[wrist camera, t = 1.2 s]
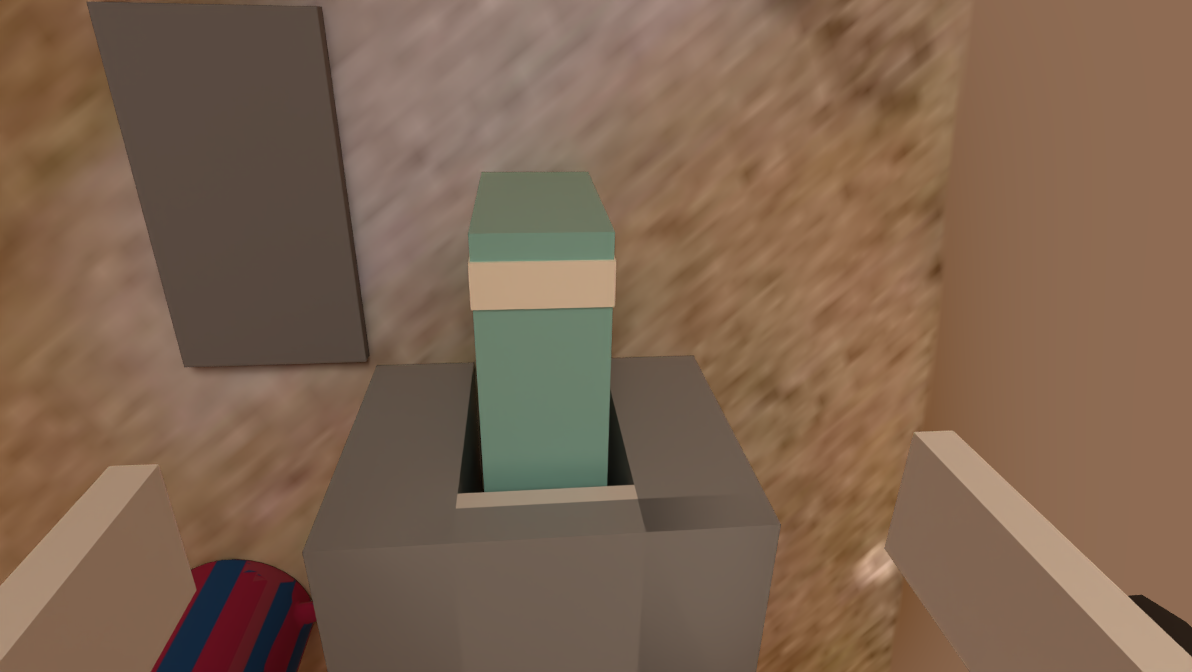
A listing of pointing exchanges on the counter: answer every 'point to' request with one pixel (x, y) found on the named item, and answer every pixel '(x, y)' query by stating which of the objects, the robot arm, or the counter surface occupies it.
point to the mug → (240, 621)
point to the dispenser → (542, 538)
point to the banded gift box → (542, 329)
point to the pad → (238, 177)
